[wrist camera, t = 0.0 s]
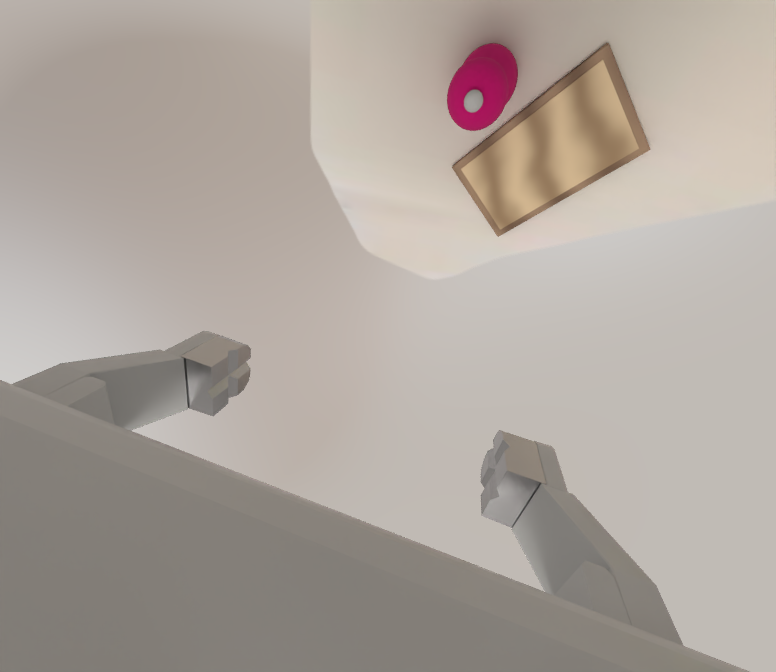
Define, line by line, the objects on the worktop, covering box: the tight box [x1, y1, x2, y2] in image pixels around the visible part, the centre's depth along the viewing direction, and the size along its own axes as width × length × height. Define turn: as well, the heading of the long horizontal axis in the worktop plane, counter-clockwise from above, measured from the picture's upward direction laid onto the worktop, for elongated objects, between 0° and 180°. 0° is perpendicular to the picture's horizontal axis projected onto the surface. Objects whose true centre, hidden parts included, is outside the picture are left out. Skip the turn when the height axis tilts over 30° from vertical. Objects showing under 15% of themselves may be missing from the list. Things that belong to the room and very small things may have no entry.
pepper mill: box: [447, 43, 518, 131], centre depth 37 cm, size 7×7×20 cm
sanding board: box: [452, 43, 650, 237], centre depth 48 cm, size 22×14×1 cm, turn 132°
